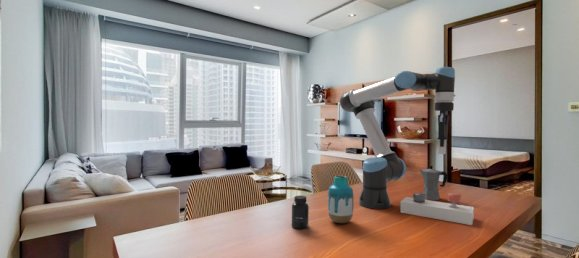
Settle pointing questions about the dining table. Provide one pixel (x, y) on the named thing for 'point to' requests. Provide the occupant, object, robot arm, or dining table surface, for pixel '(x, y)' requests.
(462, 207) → the block
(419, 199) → the plunger
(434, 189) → the coffeepot
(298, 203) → the supplement bottle
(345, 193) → the vase
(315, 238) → the dining table surface
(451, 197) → the red plunger
